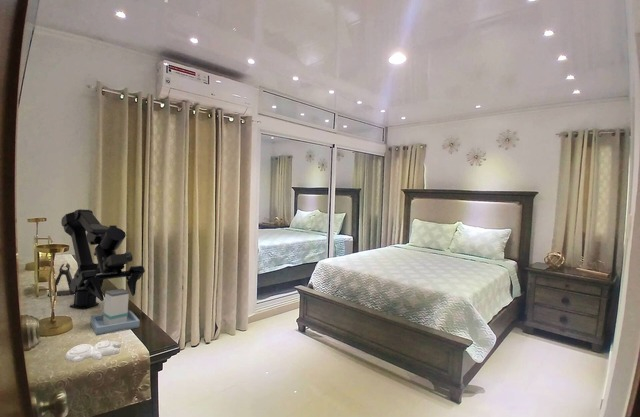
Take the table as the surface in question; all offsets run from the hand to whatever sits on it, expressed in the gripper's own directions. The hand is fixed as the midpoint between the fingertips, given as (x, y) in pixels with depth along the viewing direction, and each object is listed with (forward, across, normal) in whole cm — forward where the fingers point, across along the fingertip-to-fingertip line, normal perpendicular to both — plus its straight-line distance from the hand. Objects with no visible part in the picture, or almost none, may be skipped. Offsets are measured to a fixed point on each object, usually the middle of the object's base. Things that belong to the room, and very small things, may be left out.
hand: (118, 297), depth 102 cm
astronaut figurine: (+18, -11, -4) cm, 21 cm away
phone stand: (-28, -1, +41) cm, 50 cm away
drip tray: (+6, 0, +8) cm, 9 cm away
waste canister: (+5, 0, +7) cm, 9 cm away
